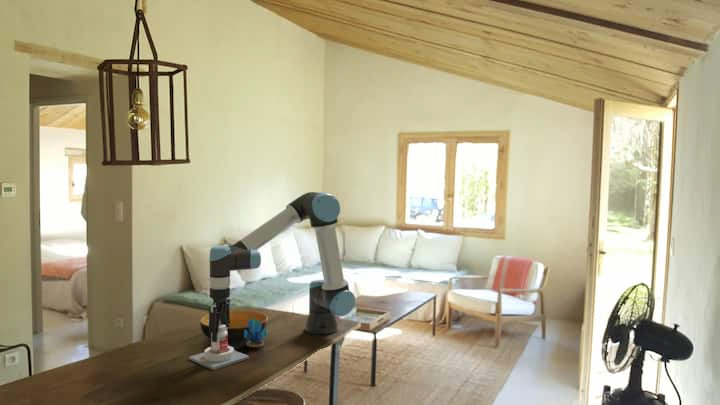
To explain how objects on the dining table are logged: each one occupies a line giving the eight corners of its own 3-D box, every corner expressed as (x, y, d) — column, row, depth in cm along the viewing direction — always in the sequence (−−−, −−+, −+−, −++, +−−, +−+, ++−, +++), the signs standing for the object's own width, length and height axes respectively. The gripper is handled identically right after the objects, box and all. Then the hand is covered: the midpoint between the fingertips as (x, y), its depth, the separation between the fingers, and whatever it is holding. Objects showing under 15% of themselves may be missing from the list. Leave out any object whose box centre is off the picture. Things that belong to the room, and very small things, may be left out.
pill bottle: (219, 358, 193) (220, 329, 193) (207, 355, 196) (207, 326, 196) (231, 353, 199) (231, 324, 198) (218, 350, 202) (218, 322, 201)
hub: (224, 348, 209) (224, 340, 209) (249, 358, 199) (249, 349, 198) (189, 359, 197) (189, 350, 196) (213, 370, 186) (213, 360, 186)
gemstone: (262, 348, 211) (262, 319, 210) (242, 346, 212) (242, 318, 211) (268, 342, 218) (269, 314, 217) (249, 341, 219) (249, 313, 219)
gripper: (221, 281, 206) (221, 338, 208) (198, 292, 187) (198, 354, 189) (239, 282, 205) (238, 339, 206) (217, 293, 186) (217, 356, 187)
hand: (219, 346), depth 197 cm, fingers closed on pill bottle, 6 cm apart
